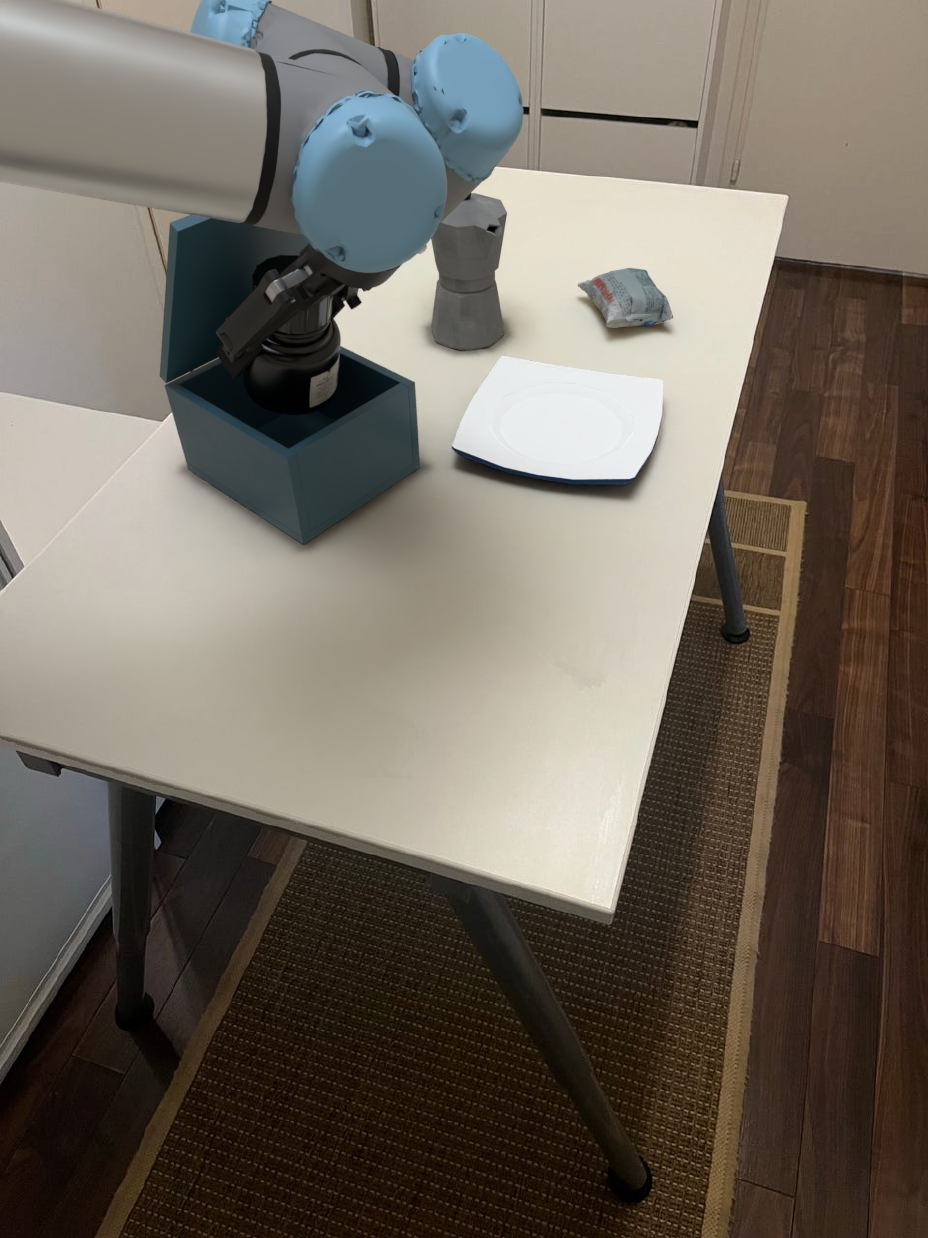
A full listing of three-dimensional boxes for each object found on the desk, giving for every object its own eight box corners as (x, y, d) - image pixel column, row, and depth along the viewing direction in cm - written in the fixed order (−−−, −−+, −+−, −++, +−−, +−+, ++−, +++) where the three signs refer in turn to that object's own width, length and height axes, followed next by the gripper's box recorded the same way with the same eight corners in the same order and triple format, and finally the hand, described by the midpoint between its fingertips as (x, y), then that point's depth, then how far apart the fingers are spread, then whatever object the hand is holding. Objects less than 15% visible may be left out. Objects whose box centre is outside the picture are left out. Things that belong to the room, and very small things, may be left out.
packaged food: (604, 343, 112) (609, 304, 108) (575, 297, 120) (579, 260, 117) (672, 335, 113) (679, 297, 110) (639, 291, 121) (644, 254, 118)
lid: (330, 170, 80) (263, 100, 81) (177, 231, 72) (106, 153, 73) (293, 320, 96) (238, 261, 97) (166, 383, 88) (107, 318, 89)
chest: (420, 467, 95) (415, 381, 88) (303, 545, 87) (287, 458, 80) (304, 404, 104) (291, 321, 97) (188, 469, 96) (164, 384, 89)
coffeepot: (529, 343, 112) (535, 191, 99) (463, 366, 109) (461, 212, 96) (461, 293, 121) (459, 148, 108) (399, 313, 118) (388, 165, 105)
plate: (670, 397, 104) (674, 376, 102) (638, 508, 90) (641, 486, 88) (495, 370, 108) (496, 350, 106) (439, 472, 95) (439, 451, 93)
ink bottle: (338, 424, 87) (347, 322, 77) (242, 420, 85) (239, 315, 75) (334, 351, 92) (342, 247, 82) (243, 346, 90) (240, 239, 80)
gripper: (289, 319, 63) (198, 428, 82) (494, 216, 74) (373, 334, 93) (224, 220, 62) (148, 354, 81) (444, 131, 73) (331, 268, 92)
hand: (268, 343), depth 87 cm, fingers closed on ink bottle, 9 cm apart
